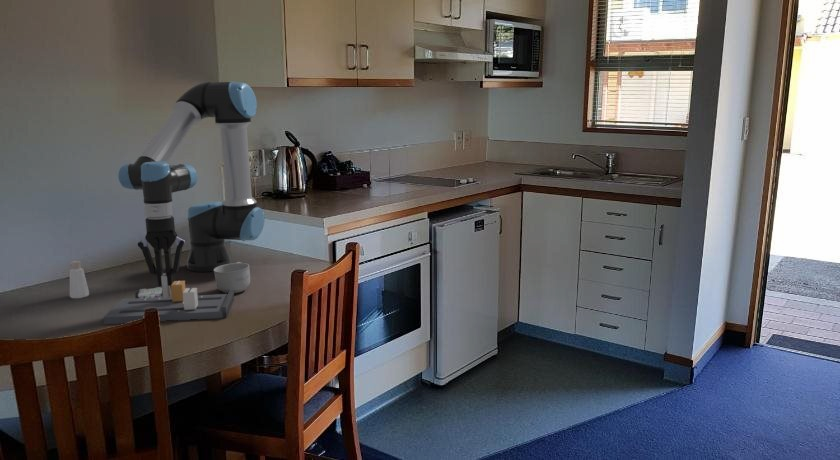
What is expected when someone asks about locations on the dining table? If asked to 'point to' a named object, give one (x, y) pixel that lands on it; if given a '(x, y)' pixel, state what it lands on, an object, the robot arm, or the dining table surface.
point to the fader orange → (177, 290)
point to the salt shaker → (78, 281)
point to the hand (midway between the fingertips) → (166, 296)
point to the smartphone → (150, 292)
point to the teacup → (232, 277)
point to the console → (171, 308)
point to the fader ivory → (190, 298)
